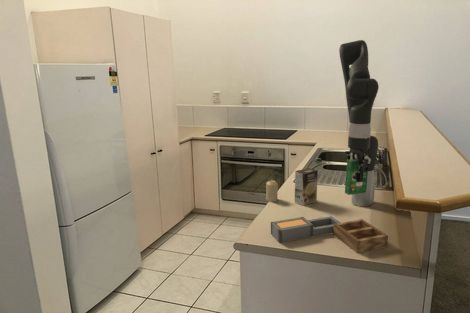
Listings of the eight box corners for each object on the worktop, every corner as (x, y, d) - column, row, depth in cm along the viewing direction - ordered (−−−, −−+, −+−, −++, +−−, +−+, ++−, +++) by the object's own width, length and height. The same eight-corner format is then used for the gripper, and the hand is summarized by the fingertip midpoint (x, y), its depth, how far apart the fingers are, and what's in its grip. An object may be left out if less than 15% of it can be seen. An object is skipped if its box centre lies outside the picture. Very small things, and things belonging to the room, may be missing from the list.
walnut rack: (361, 229, 143) (362, 219, 142) (387, 246, 129) (388, 235, 128) (333, 234, 139) (333, 224, 138) (356, 253, 126) (357, 241, 124)
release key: (301, 229, 144) (301, 219, 143) (306, 234, 139) (307, 223, 138) (276, 233, 141) (276, 223, 140) (281, 238, 136) (281, 228, 135)
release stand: (331, 222, 150) (331, 211, 149) (342, 231, 142) (343, 219, 141) (270, 233, 142) (270, 221, 141) (279, 243, 134) (279, 231, 133)
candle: (266, 197, 181) (266, 178, 178) (277, 197, 180) (277, 179, 177) (266, 201, 175) (266, 182, 173) (277, 201, 175) (277, 182, 172)
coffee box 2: (362, 190, 136) (364, 157, 133) (367, 192, 133) (369, 158, 130) (344, 193, 133) (346, 159, 130) (349, 195, 131) (350, 161, 127)
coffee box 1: (303, 206, 168) (304, 174, 164) (294, 202, 173) (294, 170, 169) (317, 201, 173) (318, 170, 169) (307, 198, 178) (308, 167, 174)
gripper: (339, 132, 133) (337, 176, 138) (362, 139, 120) (359, 187, 125) (356, 131, 135) (353, 174, 140) (381, 137, 122) (377, 185, 127)
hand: (356, 180), depth 132 cm, fingers closed on coffee box 2, 3 cm apart
